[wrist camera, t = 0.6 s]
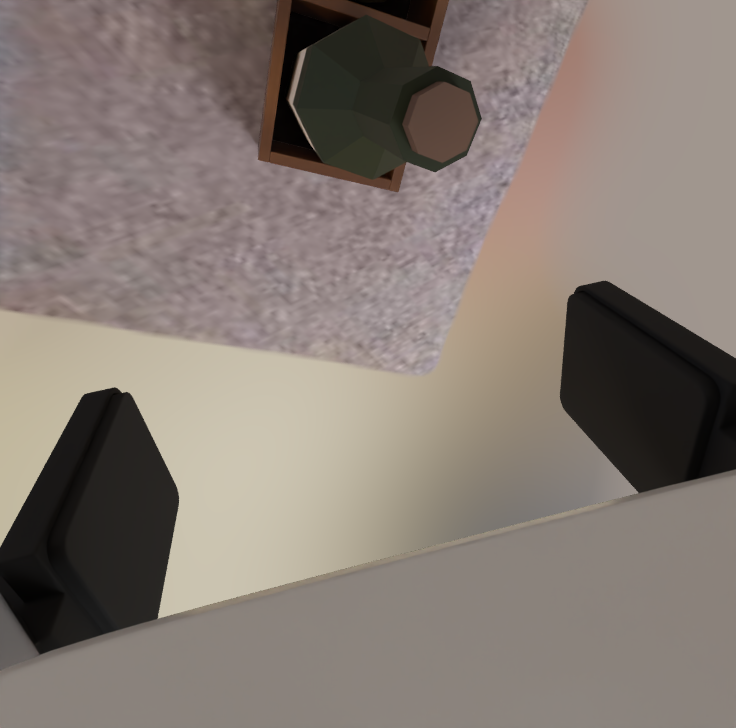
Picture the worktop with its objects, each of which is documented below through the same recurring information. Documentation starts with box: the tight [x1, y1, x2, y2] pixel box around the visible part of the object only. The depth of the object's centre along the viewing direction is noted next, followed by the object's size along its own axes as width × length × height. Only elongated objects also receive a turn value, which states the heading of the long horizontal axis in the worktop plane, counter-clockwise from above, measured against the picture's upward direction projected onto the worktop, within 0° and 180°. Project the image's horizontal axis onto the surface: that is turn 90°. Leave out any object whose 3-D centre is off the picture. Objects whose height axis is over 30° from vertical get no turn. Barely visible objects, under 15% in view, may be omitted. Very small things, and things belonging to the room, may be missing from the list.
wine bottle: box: [284, 15, 482, 180], centre depth 30 cm, size 8×8×30 cm
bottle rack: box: [258, 0, 449, 192], centre depth 37 cm, size 21×11×8 cm, turn 166°
